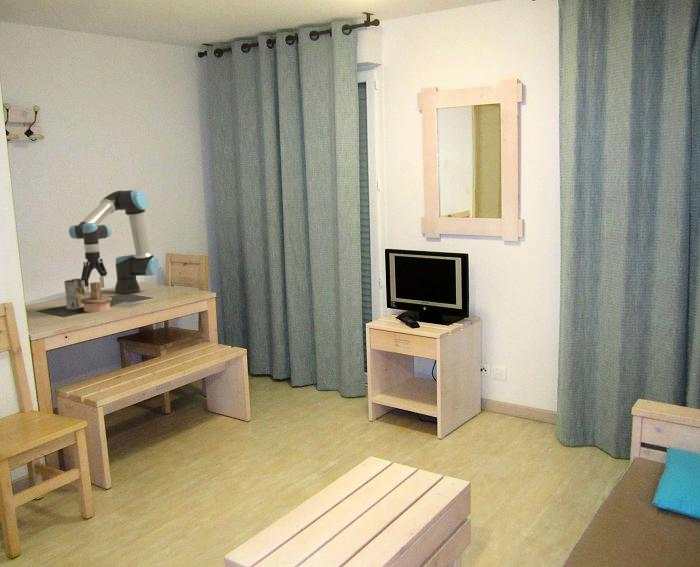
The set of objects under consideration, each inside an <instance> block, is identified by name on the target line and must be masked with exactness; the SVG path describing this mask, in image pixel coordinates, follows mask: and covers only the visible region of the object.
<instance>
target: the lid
mask: <svg viewBox="0 0 700 567" xmlns="http://www.w3.org/2000/svg"><path fill="white" fill-rule="evenodd" d="M90 290H91V292H89V293H90V297H85V298H84V299H82V300H81V303H83V304H98V303H105V302H109V301H110V302H111V301H112V300H113V297H112V296H107V295H102V288H101V284H100V281H98V282H97V281H95V282H94V281H93V282H90Z"/></svg>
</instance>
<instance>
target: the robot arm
mask: <svg viewBox="0 0 700 567" xmlns="http://www.w3.org/2000/svg"><path fill="white" fill-rule="evenodd" d="M148 202H149V201H148V198H147V195H146V194H145V193H144V192H143V191H142V190H137V189H136V190H135V189H133V190H131V189H129V190H116V191H114V192H112V193H109V194H108V195H106V196H105V197H103V198H102V199H101V200H100V202H99V205H98V206H96V207H95V208H94V209H93V210H92V211H91V212H90V213H89V214H88V215H87V216H86V217H85V218H84V219H83V220H81V222H80V223H78V224H75V225H74V224H73V225H71V226H69V228H68V235H69V237H70V238H71V239H75V240H79V239H80V240H82V239H83V244H84V245H83V247H84V258H85V260H87V261H83V264H82V265H83V267H82V272H81V277H80V279H81V280H84V290H85V293H90V292H91V290H90V283H91V280H90V276H91V274H92V271H93V270H94V269H96V271H97V273H98V274H99V282H100V284H101V289H105V288H106V278H105V277H107V275H108V272H107V269H106V266H105V264H104V262H103V258H101V254H100V242H99V240H103V239H107V238H109V237H110V236H111V235H112V229H111V227H110V226H109V225H108V224H101V223H102V222H103V221H104V219H106V218H107V217H108V216H109V215H110V214H113V213H115V212H116V211H125V215H127V216H128V220H129V224H130V229H131V235H132V236H131V237H132V241H133V245H134V250H135V254H127V255H121V256H117V257H116V258H115V264H114V265H115V269H116V270H115V272H116V284H115V288H114V294H117V295H118V294H119V295H126V294H127V295H128V294H134V293H136V294H137V293H139V292H141V287H140V285H139V283H138V282H139V281H138V280H137V277H138V276H139V277H140V276H141V277H142V276H144V277H145V276H146V277H149V276H155V275H156V273H157V272H158V270H159V265H160V264H159V259H158V257H156V256H154V253H153V252H152V251H151V249H150V244H149V239H148V234H147V226H146V223H145V218H144V214H145V213H146V209H147V208H148V205H149V203H148Z"/></svg>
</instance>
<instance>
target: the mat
mask: <svg viewBox="0 0 700 567" xmlns="http://www.w3.org/2000/svg"><path fill="white" fill-rule="evenodd" d="M143 304H144V302H138V301H137V302H135V301H134V302H133V301H132V302H129V301H123V302H120V303H119V302H118V303H117V304H114V305H113V304H112V305H110V308H127V309H128V308H129V309H130V308H132V309H133V308H134V307H138V306H139V305H143Z"/></svg>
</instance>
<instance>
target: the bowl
mask: <svg viewBox="0 0 700 567" xmlns="http://www.w3.org/2000/svg"><path fill="white" fill-rule="evenodd" d="M83 305H84V307H83V311H84V312H87V313H88V312H89V313H96V312H97V313H98V312H105V311H108V310H110V309H111V307H110V306H111V301H109V302H105V303H98V304H83Z"/></svg>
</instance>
